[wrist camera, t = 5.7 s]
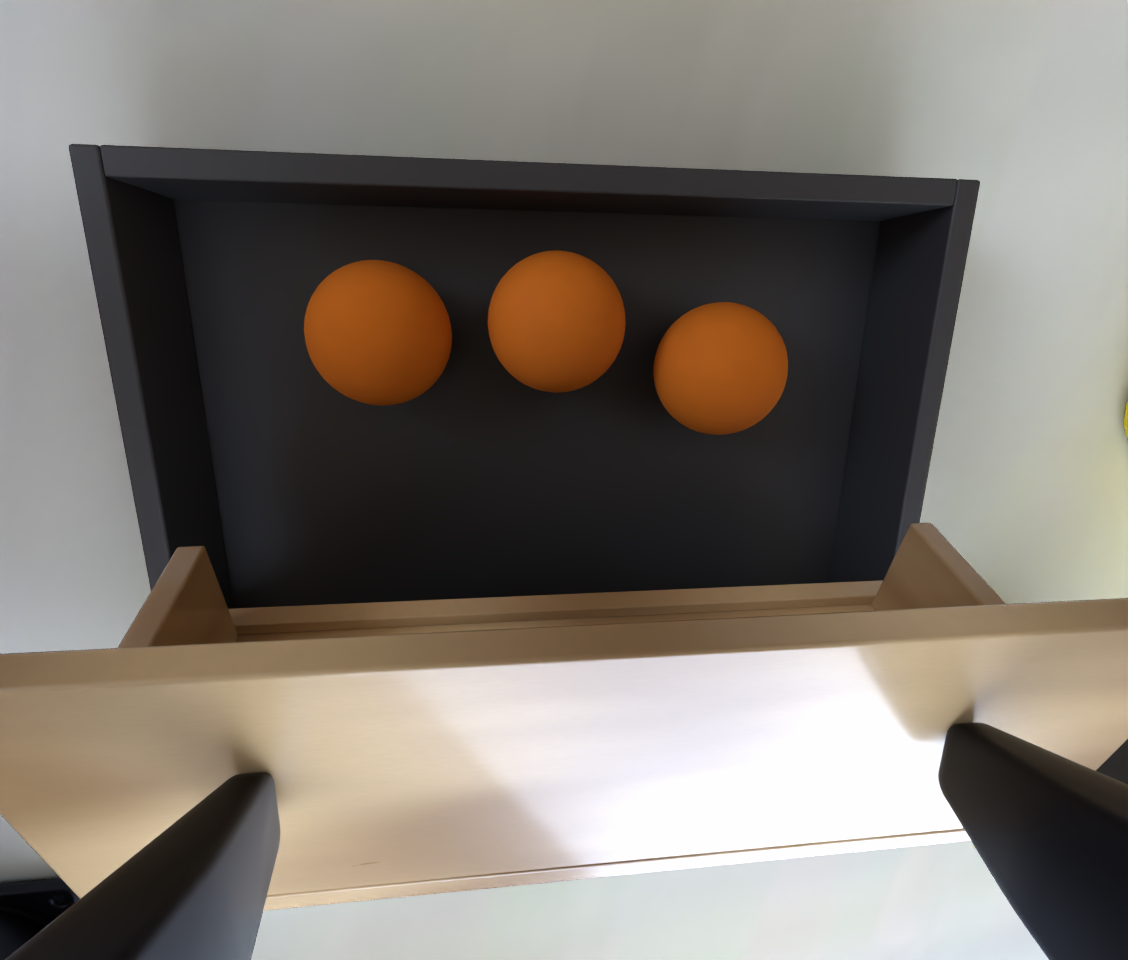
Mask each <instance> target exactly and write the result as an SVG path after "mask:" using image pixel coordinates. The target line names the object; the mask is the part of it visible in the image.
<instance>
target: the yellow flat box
mask: <svg viewBox="0 0 1128 960" xmlns="http://www.w3.org/2000/svg"><path fill="white" fill-rule="evenodd" d="M1124 427H1125V431H1126V435H1127V439H1128V402H1127V404H1126V410H1125V418H1124Z"/></svg>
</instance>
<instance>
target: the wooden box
mask: <svg viewBox="0 0 1128 960" xmlns="http://www.w3.org/2000/svg"><path fill="white" fill-rule="evenodd" d="M974 722H979V723H985V724H988V725H990V726H992V727H995V728H997V729H999V730H1002V731H1004V732H1006V733H1009V734H1011V735H1013V736H1016V737H1018V738H1020V739H1023V740H1025V741H1027V742H1030V743H1032V744H1034V745H1037V746H1039V747H1041V748H1044V749H1046V750H1048V751H1051V752H1053V753H1055V754H1058V755H1060V756H1062V757H1064V758H1067V759H1069V760H1071V761H1074V762H1076V763H1078V764H1081V765H1083V766H1085V767H1088V768H1090V769H1092V770H1095V771H1096V770H1097V769H1098V768H1099V767H1100V766H1101V765H1102V764H1103V763H1104V762H1105V761H1106V760H1107V759H1108V758H1109V757H1110V756H1111V755H1112V754H1113V753H1114V752H1115V751H1116V750H1117V749H1118V748H1119V747H1120V746H1121V745H1122V744H1123V743H1124V742H1125V741H1126V740H1127V739H1128V598H1119V599H1099V600H1078V601H1058V602H1038V603H1018V604H1006V603H1005V602H1004V601H1003V600H1002V599H1001V598H1000V597H999V596H998V595H997V594H996V593H995V591H994V590H993V589H992V588H991V587H990V586H989V585H988V584H987V583H986V582H985V581H984V580H983V579H982V577H981V576H980V575H979V574H978V573H977V572H976V571H975V570H974V569H973V568H972V567H971V566H970V564H969V563H968V562H967V561H966V560H965V559H964V558H963V557H962V556H961V555H960V554H959V553H958V552H957V550H956V549H955V548H954V547H953V546H952V545H951V544H950V543H949V542H948V541H947V540H946V539H945V537H944V536H943V535H942V534H941V533H940V532H939V531H938V530H937V529H936V528H935V527H934V526H933V524H931V523H912V524H911V525H910V526H909V528H908V530H907V532H906V534H905V536H904V538H903V540H902V542H901V544H900V547H899V549H898V551H897V553H896V555H895V557H894V559H893V561H892V563H891V565H890V567H889V569H888V571H887V573H886V575H885V577H884V580H883V581H882V580H880V581H857V582H834V583H811V584H788V585H765V586H742V587H719V588H696V589H673V590H649V591H626V592H603V593H580V594H557V595H534V596H511V597H488V598H465V599H442V600H419V601H396V602H373V603H350V604H327V605H304V606H281V607H258V608H235V609H228V607H227V604H226V602H225V599H224V596H223V594H222V591H221V588H220V586H219V583H218V580H217V578H216V575H215V572H214V570H213V567H212V565H211V562H210V559H209V557H208V554H207V551H206V549H205V547H204V546H188V547H178V548H177V549H176V550H175V552H174V554H173V555H172V557H171V559H170V561H169V562H168V564H167V566H166V567H165V569H164V571H163V572H162V574H161V576H160V577H159V579H158V581H157V582H156V584H155V586H154V588H153V589H152V591H151V593H150V594H149V596H148V598H147V599H146V601H145V603H144V604H143V606H142V608H141V609H140V611H139V613H138V614H137V616H136V618H135V620H134V621H133V623H132V625H131V626H130V628H129V630H128V631H127V633H126V635H125V636H124V638H123V640H122V641H121V643H120V645H119V647H118V648H110V649H90V650H69V651H49V652H29V653H9V654H0V814H1V816H2V817H3V818H4V819H5V820H6V821H7V822H8V823H9V824H10V825H11V826H12V827H13V828H14V829H15V830H16V831H17V832H18V834H19V835H20V836H21V837H22V838H23V839H24V840H25V841H26V842H27V843H28V844H29V845H30V846H31V847H32V848H33V849H34V850H35V852H36V853H37V854H38V855H39V856H40V857H41V858H42V859H43V860H44V861H45V862H46V863H47V864H48V865H49V866H50V867H51V868H52V870H53V871H54V872H55V873H56V874H57V875H58V876H59V877H60V878H61V879H62V880H63V881H64V882H65V883H66V884H67V885H68V886H69V887H70V889H71V890H72V891H73V892H74V893H75V894H76V895H77V896H78V897H79V898H80V899H81V898H82V897H83V896H84V895H86V894H87V893H88V892H89V891H91V890H92V889H93V888H94V887H96V886H97V885H98V884H99V883H100V882H102V881H103V880H104V879H105V878H107V877H108V876H109V875H110V874H112V873H113V872H114V871H115V870H117V869H118V868H119V867H120V866H122V865H123V864H124V863H125V862H126V861H128V860H129V859H130V858H131V857H133V856H134V855H135V854H136V853H138V852H139V851H140V850H141V849H143V848H144V847H145V846H146V845H148V844H149V843H150V842H151V841H152V840H154V839H155V838H156V837H157V836H159V835H160V834H161V833H162V832H164V831H165V830H166V829H167V828H169V827H170V826H171V825H172V824H173V823H175V822H176V821H177V820H178V819H180V818H181V817H182V816H183V815H185V814H186V813H187V812H188V811H190V810H191V809H192V808H193V807H195V806H196V805H197V804H198V803H199V802H201V801H202V800H203V799H204V798H206V797H207V796H208V795H209V794H211V793H212V792H213V791H214V790H216V789H217V788H218V787H219V786H220V785H222V784H223V783H224V782H225V781H227V780H228V779H229V778H231V777H232V776H234V775H238V774H246V773H260V772H267V773H269V774H270V775H272V777H273V780H274V783H275V790H276V798H277V806H278V813H279V821H280V843H279V849H278V853H277V857H276V861H275V865H274V869H273V873H272V877H271V881H270V885H269V889H268V893H267V897H266V901H265V905H264V909H263V911H264V910H274V909H284V908H294V907H304V906H315V905H325V904H335V903H345V902H355V901H365V900H375V899H385V898H396V897H406V896H416V895H426V894H436V893H446V892H456V891H466V890H477V889H487V888H497V887H507V886H517V885H527V884H537V883H547V882H557V881H568V880H578V879H588V878H598V877H608V876H618V875H628V874H638V873H649V872H659V871H669V870H679V869H689V868H699V867H709V866H719V865H730V864H740V863H750V862H760V861H770V860H780V859H790V858H800V857H811V856H821V855H831V854H841V853H851V852H861V851H871V850H881V849H891V848H902V847H912V846H922V845H932V844H942V843H952V842H962V841H971V839H970V838H969V836H968V835H967V833H966V831H965V830H964V828H963V826H962V825H961V823H960V821H959V820H958V818H957V817H956V815H955V813H954V812H953V810H952V808H951V807H950V805H949V803H948V802H947V800H946V798H945V797H944V795H943V793H942V791H941V788H940V785H939V781H938V771H939V766H940V761H941V757H942V752H943V747H944V742H945V738H946V733H947V731H948V729H949V728H950V727H951V726H952V725H954V724H960V723H974Z"/></svg>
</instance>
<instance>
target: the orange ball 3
mask: <svg viewBox="0 0 1128 960" xmlns="http://www.w3.org/2000/svg"><path fill="white" fill-rule="evenodd" d="M653 375H654V383H655V387H656V391H657V394H658V396H659V399H660V401H661V402H662V404H663V406H664V407H665V409H666V410H667V411H668V413H669V414H670V415H671V416H672V417H673V418H674V419H676V420H677V421H678V422H679V423H681V424H682V425H684V426H686V427H687V428H689V429H692V430H694V431H697V432H700V433H704V434H711V435H726V434H731V433H736V432H739V431H742V430H745V429H747V428H749V427H751V426H753V425H755V424H756V423H758V422H759V421H760V420H762V419H763V418H764V417H765V416H766V415H767V414H768V413H769V412H770V411H771V410H772V409H773V408H774V406H775V405H776V403H777V402H778V400H779V399H780V397H781V395H782V393H783V390H784V388H785V384H786V381H787V375H788V356H787V351H786V347H785V344H784V342H783V339H782V337H781V335H780V334H779V332H778V330H777V329H776V327H775V326H774V325H773V324H772V323H771V321H770V320H768V319H767V318H766V317H765V316H764V315H763V314H761V313H759V312H758V311H756V310H754V309H752V308H750V307H748V306H745V305H742V304H737V303H732V302H716V303H710V304H705V305H702V306H699V307H697V308H695V309H692V310H690V311H689V312H687V313H686V314H684V315H683V316H681V317H680V318H679V319H678V320H676V321H675V322H674V323H673V324H672V325H671V327H670V328H669V329H668V330H667V331H666V333H665V335H664V336H663V338H662V339H661V341H660V344H659V346H658V349H657V352H656V355H655V360H654V369H653Z"/></svg>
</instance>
